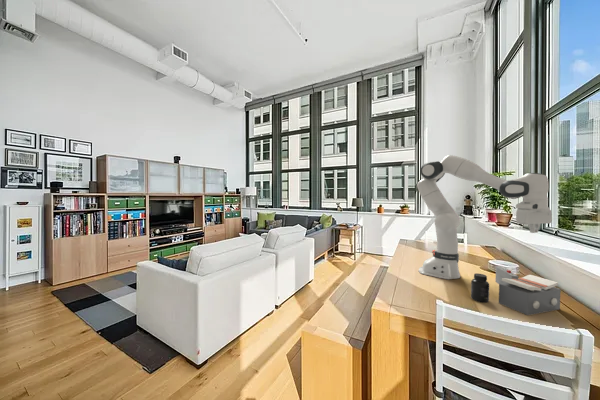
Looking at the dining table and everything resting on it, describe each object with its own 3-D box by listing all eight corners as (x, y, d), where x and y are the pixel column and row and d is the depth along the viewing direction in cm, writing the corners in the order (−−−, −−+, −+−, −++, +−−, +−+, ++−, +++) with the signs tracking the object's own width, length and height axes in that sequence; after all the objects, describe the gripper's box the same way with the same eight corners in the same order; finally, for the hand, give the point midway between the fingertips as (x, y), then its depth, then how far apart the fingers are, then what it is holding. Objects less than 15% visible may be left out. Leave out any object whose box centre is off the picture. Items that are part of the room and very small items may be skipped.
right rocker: (545, 291, 99) (545, 286, 99) (518, 282, 109) (517, 278, 108) (558, 286, 101) (557, 281, 101) (530, 278, 111) (529, 274, 110)
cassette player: (517, 293, 117) (518, 274, 116) (511, 293, 117) (512, 273, 117) (501, 282, 132) (501, 265, 131) (495, 281, 132) (496, 264, 132)
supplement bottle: (467, 296, 113) (467, 272, 112) (480, 296, 113) (480, 272, 113) (479, 303, 106) (479, 277, 105) (492, 302, 106) (493, 277, 106)
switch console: (528, 315, 95) (529, 294, 95) (498, 303, 106) (499, 283, 106) (561, 309, 100) (562, 289, 100) (529, 298, 111) (529, 279, 111)
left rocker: (527, 291, 96) (528, 285, 96) (501, 282, 106) (502, 277, 106) (540, 292, 98) (541, 287, 98) (513, 283, 108) (514, 278, 108)
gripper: (540, 204, 121) (539, 230, 121) (513, 204, 115) (512, 232, 116) (557, 205, 115) (555, 232, 115) (528, 205, 109) (527, 234, 110)
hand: (533, 232), depth 116 cm, fingers closed
